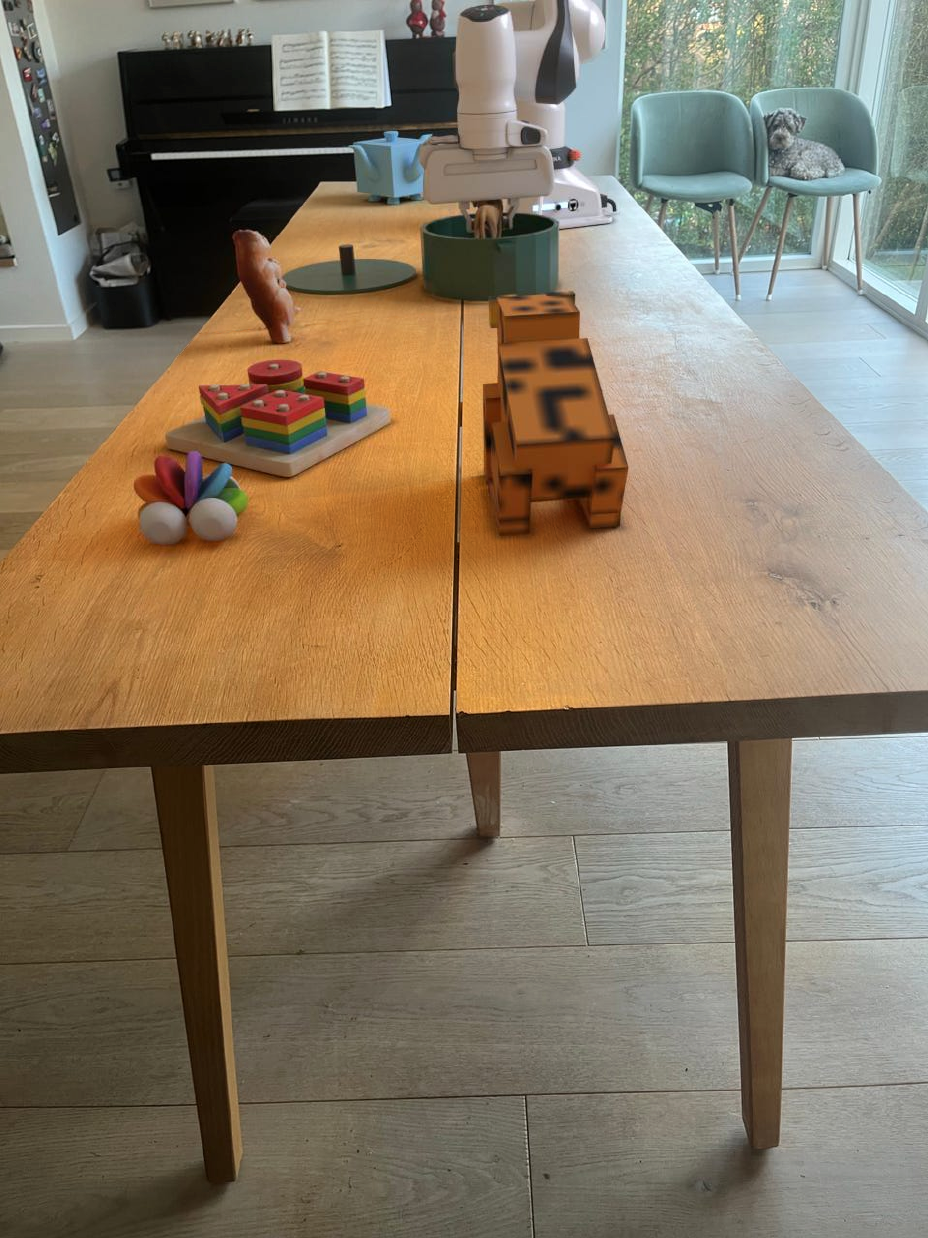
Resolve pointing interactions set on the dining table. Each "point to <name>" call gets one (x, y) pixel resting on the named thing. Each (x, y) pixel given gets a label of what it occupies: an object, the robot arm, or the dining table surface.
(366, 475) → the dining table surface
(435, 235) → the tin
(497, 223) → the lion figurine
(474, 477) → the dining table surface
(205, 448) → the shape sorter
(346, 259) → the tin lid
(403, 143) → the teakettle
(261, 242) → the figurine
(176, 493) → the rainbow fan rolling toy
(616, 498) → the toy animal
